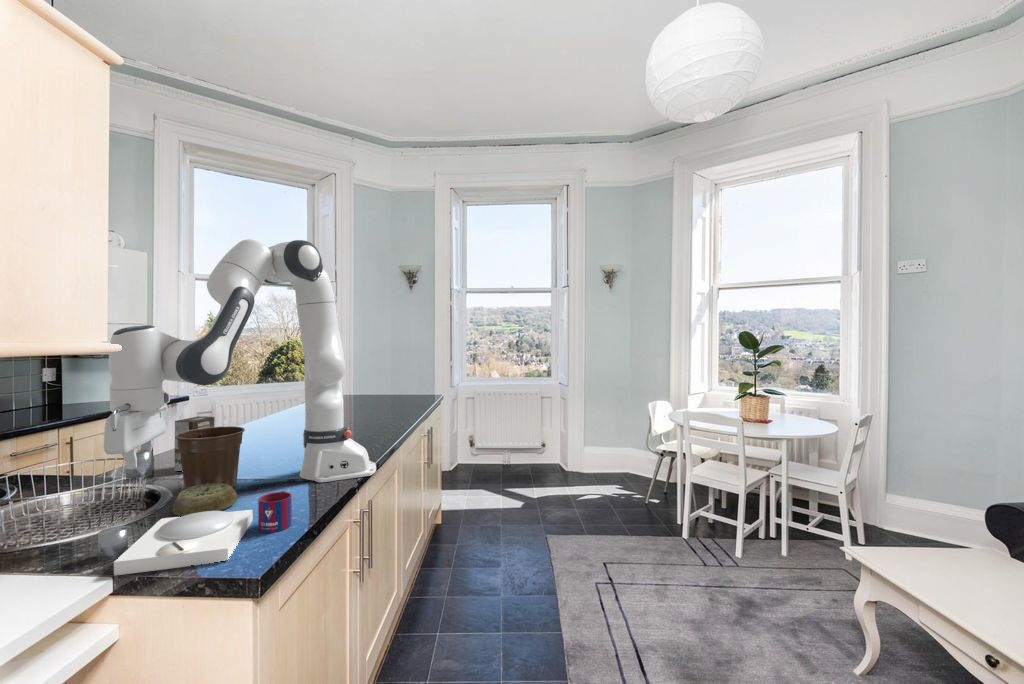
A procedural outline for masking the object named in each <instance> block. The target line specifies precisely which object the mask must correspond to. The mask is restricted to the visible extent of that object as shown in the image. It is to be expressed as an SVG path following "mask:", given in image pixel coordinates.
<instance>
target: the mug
mask: <svg viewBox="0 0 1024 684" xmlns="http://www.w3.org/2000/svg"><path fill="white" fill-rule="evenodd" d="M292 495H293V494H292V493H291V492H287V491H285V490H281V491H276V492H269V493H266V494H263V495H261V496H260V497H258V501H257V503H258V507H257V508H258V512H257V513H258V516H257V517H258V531H259V532H261V533H265V534H267V533H269V534H271V533H278V532H281V530H282V531H284V530H286V529H289V528H290V527H291V526H292V523H293V518H292V517H293V514H292V513H293V511H292V507H293V506H292V505H293V501H292V500H293V499H292V497H293V496H292ZM288 527H289V528H288Z"/></svg>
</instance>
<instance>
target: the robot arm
mask: <svg viewBox="0 0 1024 684" xmlns="http://www.w3.org/2000/svg"><path fill="white" fill-rule="evenodd" d="M323 268H324V265H323V259H322V255H321V254H320V252H319V249H318V248H317V247H316V246H315V245H314V244H313V243H312V242H310V241H308V240H303V239H294V240H291V241H285V242H284V241H283V242H280V243H277V244H274V245H272V246H269V247H268V246H266V245H265V244H264V243H262V242H260V241H257V240H255V239H251V238H250V239H243V240H241V241H239V242H237V244H235V245H234V246H233V247H232V248H231V249H229V250H228V251H227V253H225V255H224V256H223V257H222V258H221V259H220V260H219V262H218V263H217V264H216V266H214V268H213V269H212V271H211V273H210V275H209V276H208V279H207V281H206V288H207V291H208V293H209V296H210V297H211V298H212V299H213V300H214V301H215V302H217V303H218V304H219V305H220V308H219V311H218V312H217V314H216V316H215V318H214V320H213V321H212V323H211V325H210V327H209V329H208V330H207V332H206V333H205V334H204V335H203V336H201V337H199V338H197V339H195V340H183V339H181V338H178V337H175V336H171V335H170V334H167V333H165V332H163V331H162V330H160V329H159V328H158V327H156V326H155V325H149V324H147V325H138V326H137V325H135V326H128V327H124V328H123V327H122V328H119V329H117V330H116V331H115V332H113V333H112V335H111V338H110V342H109V344H110V343H111V344H119V345H121V346H122V350H121V351H118V352H109V351H108V369H109V371H110V375H111V382H110V385H109V410H110V411H111V414H110V415H109V416H108V417H107V418H106V420H105V425H104V431H103V432H104V433H103V450H104V452H105V454H106V455H121V456H122V458H123V460H124V462H126V469H135V468H136V467H138V466H139V459H137V456H136V452H137V450H138V447H140V450H151V452H152V450H153V447H154V444H155V442H154V441H155V439H156V438H158V437H161V435H163V434H165V433H166V431H167V428H168V421H169V420H168V418H169V415H168V412H169V411H168V409H169V408H168V403H170V401H171V395H170V393H168V392H166V391H164V390H163V382H164V381H171V382H177V383H178V382H179V383H188V384H189V383H190V384H195V385H199V386H210V385H213V384H215V383H218V382H219V381H221V380H222V379H223V378H224V377H225V376H226V375H227V373H228V371H229V369H230V366H231V363H232V358H233V352H234V349H235V347H236V345H237V342H238V340H239V338H240V336H241V335H242V332H243V330H244V328H245V326H246V325H247V322H248V321H249V318H250V316H251V314H252V312H253V309H254V307H255V297H256V295H257V293H258V291H259V290H260V288H261V287H262V285H263V284H264V283H265V284H271V285H272V284H273V285H277V284H283V283H284V284H285V283H290V285H291V286H292V288H293V289H294V292H295V302H296V304H295V305H296V311H297V317H298V318H297V319H298V324H299V325H298V326H299V332H300V337H301V345H302V350H303V351H302V352H303V359H304V400H305V401H304V404H305V406H304V408H305V409H304V412H305V413H304V415H305V417H304V418H305V419H304V421H305V422H304V425H305V426H304V427H305V428H304V430H303V432H302V433H303V435H302V436H303V441H302V442H303V448H304V451H303V460H302V464H301V469H300V472H299V477H300V478H301V479H303V480H309V481H315V482H316V483H327V482H335V481H342V480H348V479H349V480H350V479H354V478H355V479H356V478H363V477H369V476H372V475H374V474H375V473H376V472H377V464H376V463H375V462H374V461H371V460H370V457H369V453H368V451H367V449H366V448H365V447H364V446H363V445H362V444H360V443H358V442H356V441H355V440H354V439H352V438H351V436H352V431H351V429H350V427H346V426H345V425H344V424H345V423H344V422H345V421H344V420H345V419H344V418H345V417H344V409H345V408H344V407H345V406H344V405H345V404H344V402H345V401H344V394H343V393H344V392H343V377H344V375H345V373H346V369H347V368H346V361H345V355H344V347H343V342H342V337H341V333H340V328H339V320H338V319H339V318H338V313H337V312H338V311H337V305H336V298H335V293H334V288H333V285H332V282H331V279H330V276H329V274H328V273H327V271H326V270H324V269H323Z"/></svg>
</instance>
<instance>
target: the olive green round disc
mask: <svg viewBox="0 0 1024 684" xmlns="http://www.w3.org/2000/svg"><path fill="white" fill-rule="evenodd" d="M237 501H238V493H237V492H236V489H234V488H233V487H232V486H230V485H228V484H224V483H208V484H201V485H196V486H192V487H189V488H187V489H184V488H183V490H181V491H180V492H179V493H178V495H177V496H176V498H175V500H174V502H173V506H172V512H173V514H174V515H176V516H177V517H180V516H181V517H182V516H185V515H189V514H193V513H198V512H206V511H225V510H226V509H229V508H230V507H231V506H233V505H234V504H235V503H236V502H237Z"/></svg>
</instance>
